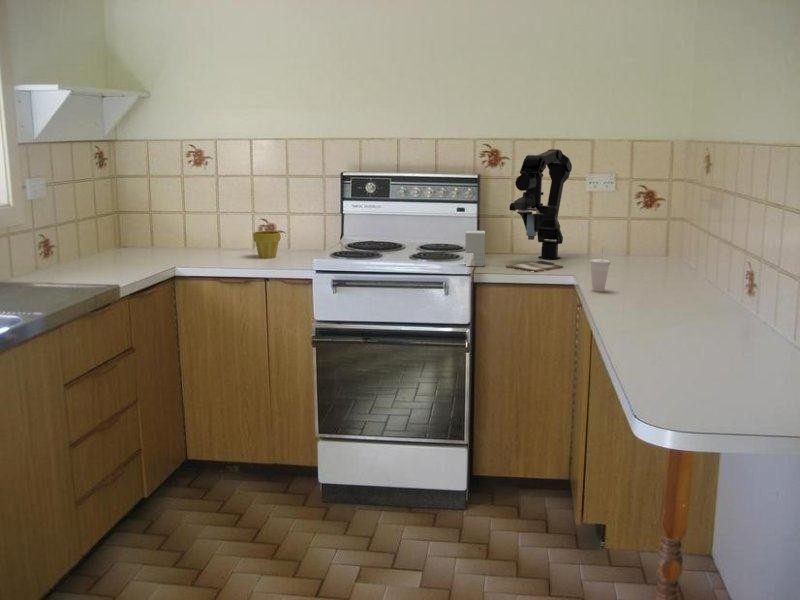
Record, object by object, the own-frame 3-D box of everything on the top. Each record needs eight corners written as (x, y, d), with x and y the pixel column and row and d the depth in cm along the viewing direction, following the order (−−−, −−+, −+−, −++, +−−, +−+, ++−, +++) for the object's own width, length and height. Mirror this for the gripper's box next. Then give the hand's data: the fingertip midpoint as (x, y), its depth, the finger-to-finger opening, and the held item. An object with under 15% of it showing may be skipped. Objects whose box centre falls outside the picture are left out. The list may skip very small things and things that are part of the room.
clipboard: (533, 262, 319) (533, 259, 319) (562, 267, 309) (563, 264, 309) (505, 267, 308) (505, 263, 308) (535, 272, 298) (535, 268, 298)
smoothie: (597, 293, 262) (599, 249, 259) (583, 289, 268) (586, 246, 265) (612, 291, 265) (615, 247, 262) (599, 288, 271) (602, 245, 268)
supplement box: (484, 263, 316) (485, 230, 314) (484, 266, 309) (485, 232, 306) (465, 263, 317) (465, 230, 314) (464, 266, 310) (465, 232, 307)
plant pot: (259, 259, 319) (258, 234, 317) (250, 256, 328) (249, 231, 326) (284, 258, 324) (284, 233, 322) (274, 254, 333) (274, 229, 331)
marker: (530, 238, 316) (531, 213, 314) (538, 239, 313) (539, 214, 311) (523, 239, 313) (525, 214, 311) (531, 240, 310) (532, 215, 308)
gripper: (500, 188, 311) (498, 230, 314) (538, 192, 297) (536, 235, 300) (520, 187, 318) (518, 228, 321) (558, 190, 304) (556, 233, 307)
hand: (531, 231), depth 312 cm, fingers closed on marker, 4 cm apart
